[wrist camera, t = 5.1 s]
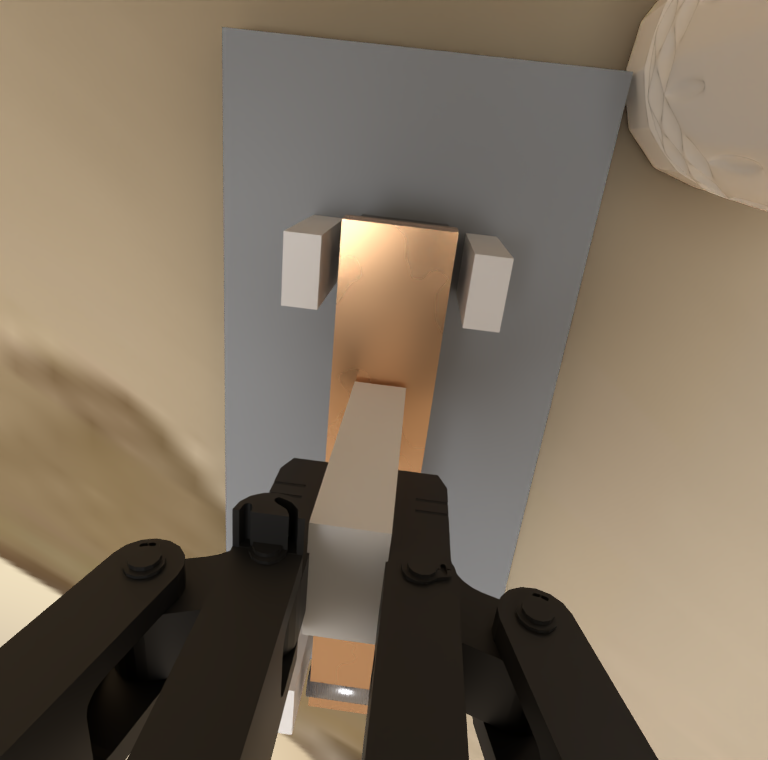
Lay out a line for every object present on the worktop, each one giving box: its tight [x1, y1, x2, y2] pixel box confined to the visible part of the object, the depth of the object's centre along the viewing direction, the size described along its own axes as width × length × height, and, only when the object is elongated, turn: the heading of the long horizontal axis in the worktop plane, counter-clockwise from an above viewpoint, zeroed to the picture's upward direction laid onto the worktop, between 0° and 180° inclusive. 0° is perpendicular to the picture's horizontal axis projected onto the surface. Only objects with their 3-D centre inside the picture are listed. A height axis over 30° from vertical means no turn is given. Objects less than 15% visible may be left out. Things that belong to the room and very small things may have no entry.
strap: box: [306, 215, 459, 714], centre depth 18 cm, size 19×3×1 cm, turn 174°
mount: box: [222, 27, 633, 735], centre depth 19 cm, size 25×12×6 cm, turn 174°
